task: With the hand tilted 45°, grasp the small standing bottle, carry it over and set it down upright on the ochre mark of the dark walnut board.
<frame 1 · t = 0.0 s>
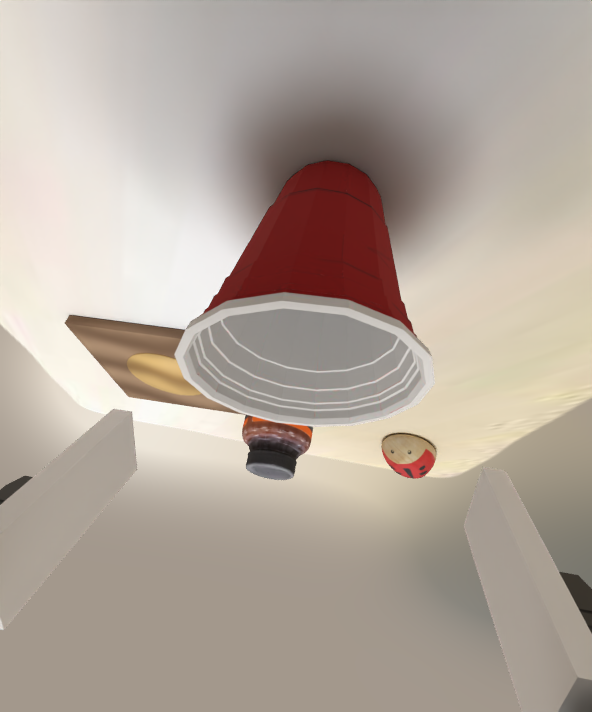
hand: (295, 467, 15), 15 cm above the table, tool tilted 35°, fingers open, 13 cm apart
supplement bottle: (293, 353, 38), on the table
ladybug figurine: (408, 443, 52), on the table
walnut board: (171, 367, 44), on the table
plastic cup: (335, 205, 23), on the table
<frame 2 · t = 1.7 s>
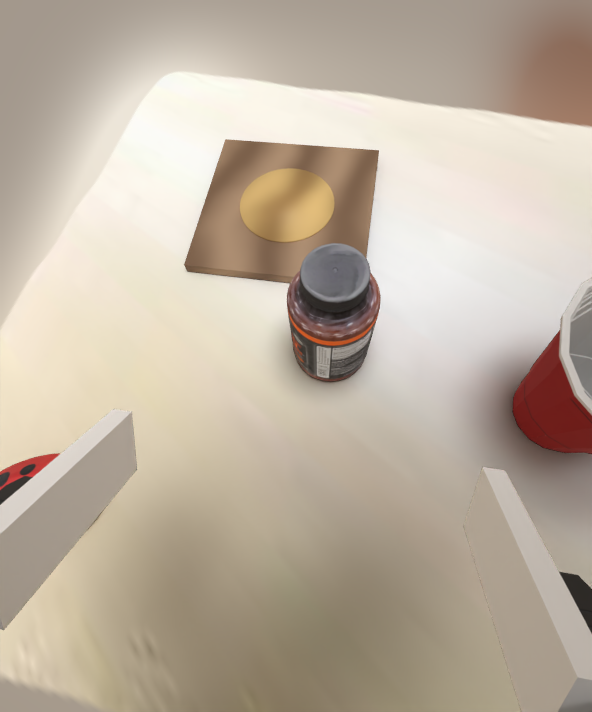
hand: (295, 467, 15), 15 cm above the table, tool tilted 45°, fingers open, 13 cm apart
supplement bottle: (329, 351, 33), on the table
ladybug figurine: (49, 503, 29), on the table
walnut board: (287, 212, 38), on the table
plastic cup: (549, 416, 30), on the table
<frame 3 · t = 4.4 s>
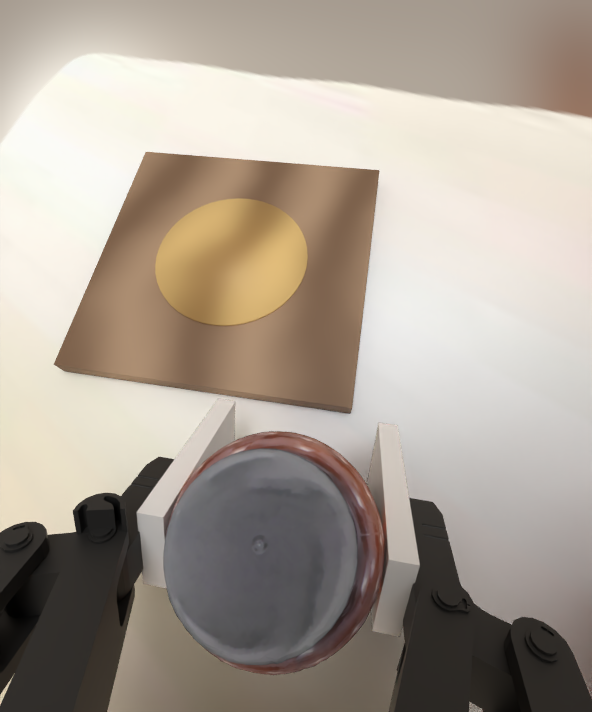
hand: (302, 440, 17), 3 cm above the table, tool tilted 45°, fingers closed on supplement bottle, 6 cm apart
supplement bottle: (292, 532, 18), on the table, touching gripper
walnut board: (234, 268, 24), on the table
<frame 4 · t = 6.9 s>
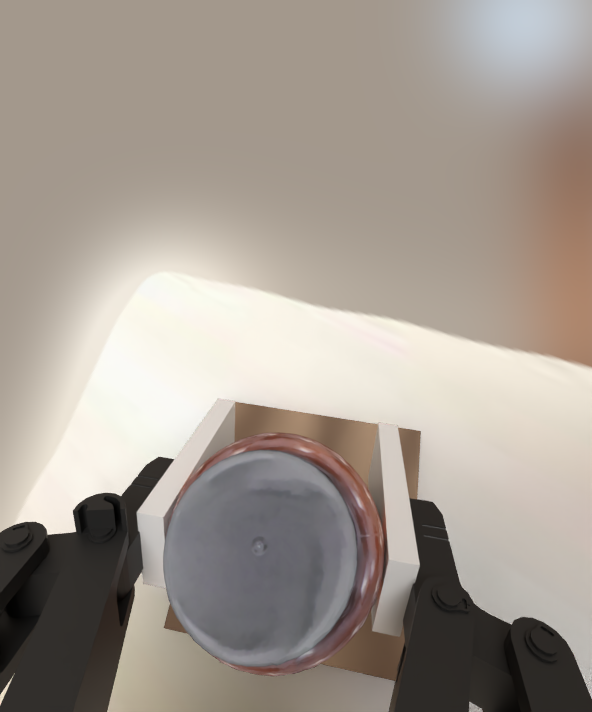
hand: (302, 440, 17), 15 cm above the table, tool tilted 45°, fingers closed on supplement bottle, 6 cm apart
supplement bottle: (292, 532, 18), point 12 cm above the table, touching gripper
walnut board: (302, 522, 29), on the table
when the fingers open (6 cm above the table, at t = 9.4 s): supplement bottle drops 1 cm, resting on walnut board.
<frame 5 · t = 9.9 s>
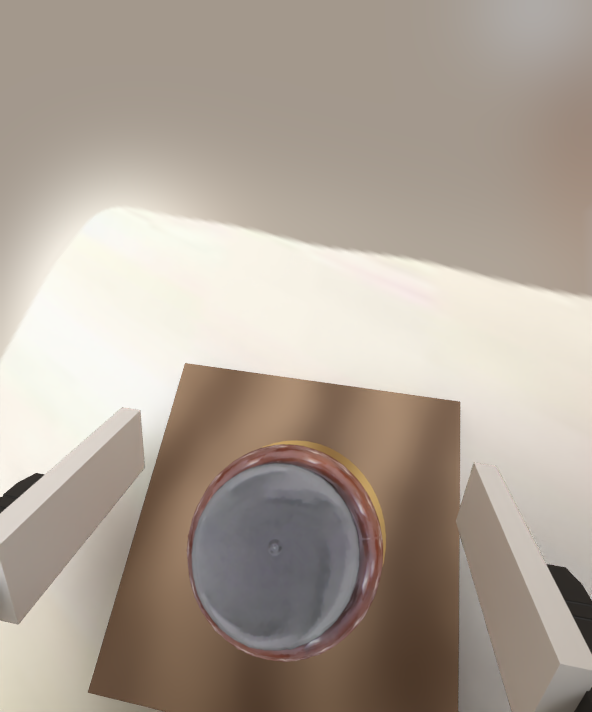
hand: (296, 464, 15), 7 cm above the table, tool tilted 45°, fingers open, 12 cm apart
supplement bottle: (298, 533, 20), point 1 cm above the table, touching walnut board
walnut board: (295, 530, 21), on the table
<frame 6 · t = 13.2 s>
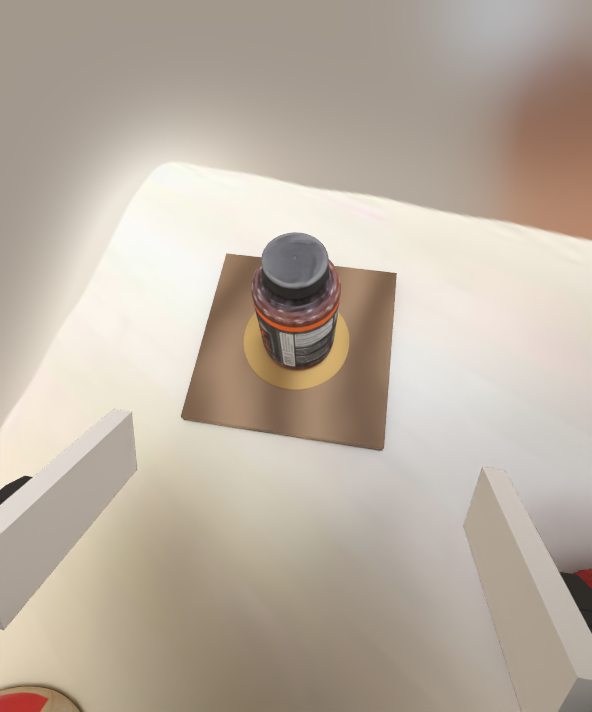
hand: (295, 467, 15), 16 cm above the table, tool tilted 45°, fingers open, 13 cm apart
supplement bottle: (298, 341, 34), point 1 cm above the table, touching walnut board
walnut board: (296, 344, 35), on the table
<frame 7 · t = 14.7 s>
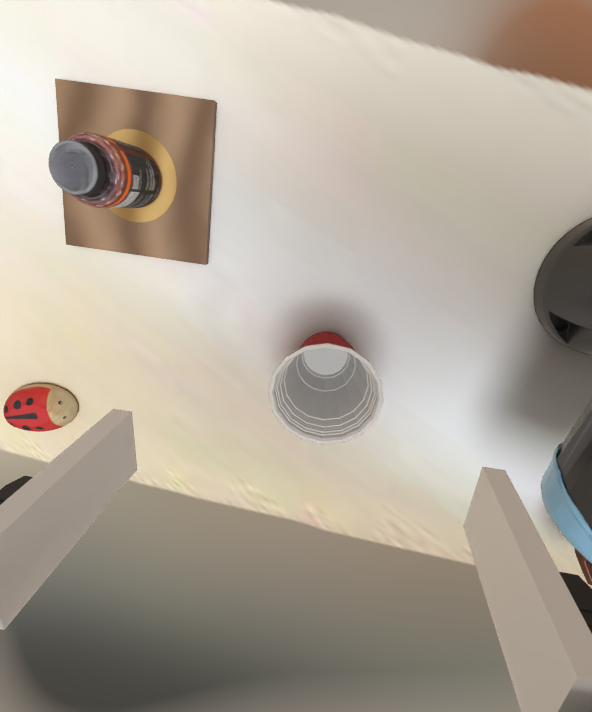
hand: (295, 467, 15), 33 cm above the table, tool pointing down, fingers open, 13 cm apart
supplement bottle: (137, 178, 42), point 1 cm above the table, touching walnut board
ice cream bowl: (580, 499, 53), on the table
ladybug figurine: (47, 403, 54), on the table
walnut board: (139, 178, 43), on the table
plastic cup: (324, 355, 48), on the table
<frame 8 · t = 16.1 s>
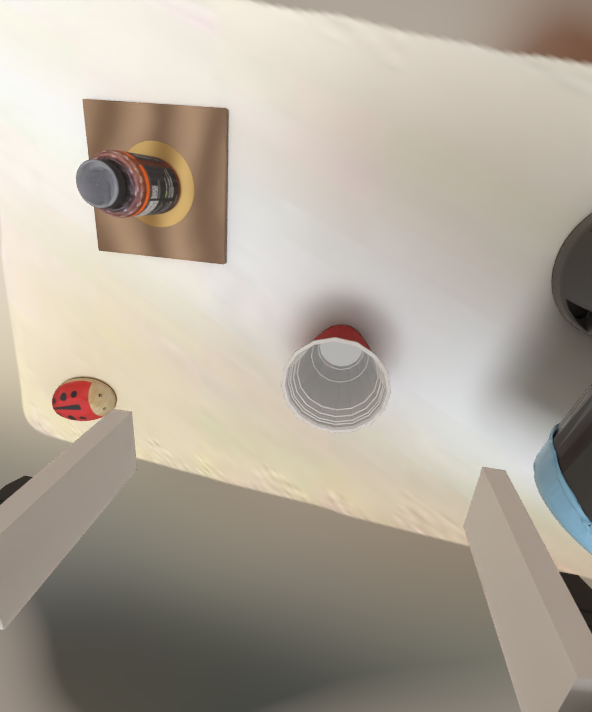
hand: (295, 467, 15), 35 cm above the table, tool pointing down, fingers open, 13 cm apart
supplement bottle: (158, 186, 45), point 1 cm above the table, touching walnut board
ladybug figurine: (89, 395, 59), on the table
walnut board: (160, 185, 46), on the table
plastic cup: (340, 347, 50), on the table
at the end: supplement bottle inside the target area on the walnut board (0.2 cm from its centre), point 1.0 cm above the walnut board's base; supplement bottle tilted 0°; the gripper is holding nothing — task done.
